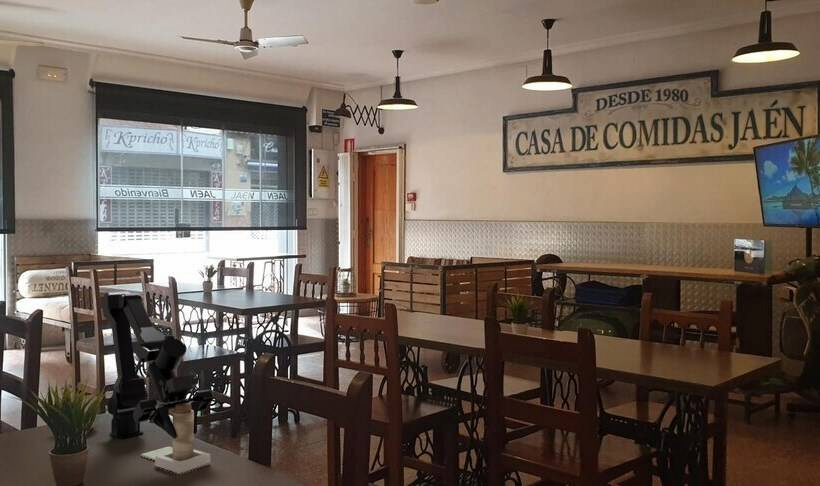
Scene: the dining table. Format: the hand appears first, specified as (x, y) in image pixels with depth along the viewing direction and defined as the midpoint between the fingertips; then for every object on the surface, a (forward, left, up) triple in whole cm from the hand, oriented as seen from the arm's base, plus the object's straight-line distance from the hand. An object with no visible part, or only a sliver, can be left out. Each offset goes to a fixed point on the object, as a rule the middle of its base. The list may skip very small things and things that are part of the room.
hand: (185, 435), depth 173 cm
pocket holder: (0, -1, -8) cm, 8 cm away
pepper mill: (0, -1, -8) cm, 8 cm away
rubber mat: (-2, -11, -8) cm, 13 cm away
